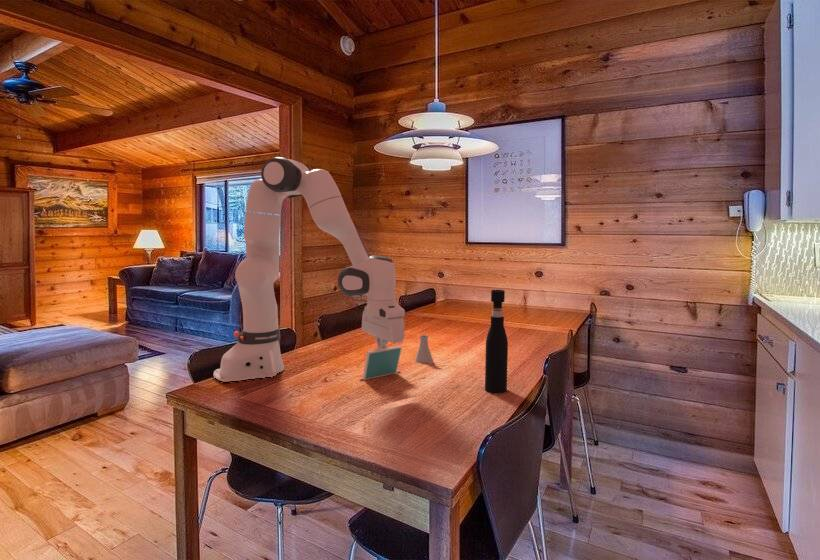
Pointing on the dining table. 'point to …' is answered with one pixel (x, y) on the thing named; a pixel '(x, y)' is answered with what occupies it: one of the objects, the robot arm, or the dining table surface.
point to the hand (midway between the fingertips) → (381, 351)
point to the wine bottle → (496, 348)
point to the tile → (381, 362)
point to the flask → (424, 351)
